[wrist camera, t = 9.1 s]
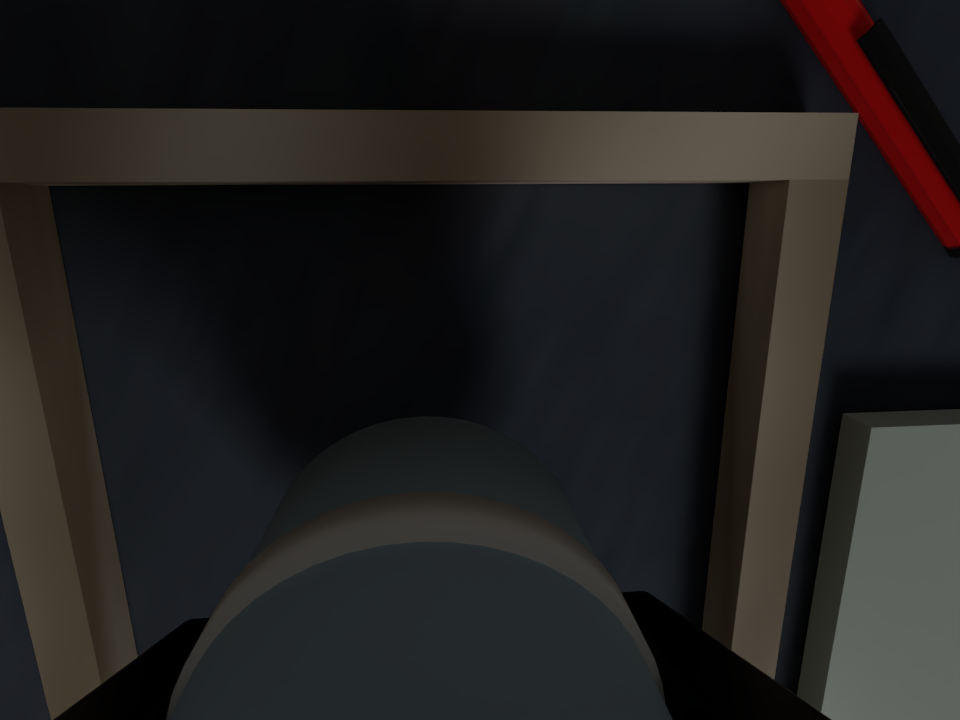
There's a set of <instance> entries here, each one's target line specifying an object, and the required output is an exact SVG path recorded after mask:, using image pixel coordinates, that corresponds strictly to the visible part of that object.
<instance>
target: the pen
mask: <svg viewBox="0 0 960 720" xmlns="http://www.w3.org/2000/svg"><path fill="white" fill-rule="evenodd" d="M780 1H781V3H782V4H783V6H784V7H785V9H786V10H787V12H788V13H789V15H790V16H791V18H792V19H793V21H794V22H795V24H796V25H797V27H798V28H799V30H800V31H801V33H802V34H803V36H804V37H805V39H806V40H807V42H808V44H809V45H810V47H811V48H812V50H813V51H814V53H815V54H816V56H817V57H818V59H819V60H820V62H821V63H822V65H823V66H824V68H825V69H826V71H827V72H828V74H829V75H830V77H831V78H832V80H833V81H834V83H835V84H836V86H837V87H838V89H839V90H840V92H841V93H842V95H843V96H844V98H845V99H846V101H847V102H848V104H849V105H850V107H851V108H852V110H853V111H854V113H859V114H858V119H859V120H860V122H861V123H862V125H863V126H864V128H865V129H866V131H867V132H868V134H869V135H870V137H871V138H872V140H873V141H874V143H875V144H876V146H877V147H878V149H879V150H880V152H881V153H882V155H883V156H884V158H885V159H886V161H887V162H888V164H889V165H890V167H891V168H892V170H893V171H894V173H895V175H896V176H897V178H898V179H899V181H900V182H901V184H902V185H903V187H904V188H905V190H906V191H907V193H908V194H909V196H910V197H911V199H912V200H913V202H914V203H915V205H916V206H917V208H918V209H919V211H920V212H921V214H922V215H923V217H924V218H925V220H926V221H927V223H928V224H929V226H930V227H931V229H932V230H933V232H934V233H935V235H936V236H937V238H938V239H939V241H940V242H941V244H942V245H943V247H944V248H945V250H946V251H947V253H948V254H949V256H951V257H954V258H959V257H960V144H959V142H958V141H957V139H956V138H955V136H954V134H953V133H952V131H951V129H950V128H949V126H948V124H947V123H946V121H945V120H944V118H943V116H942V115H941V113H940V111H939V110H938V108H937V107H936V105H935V103H934V102H933V100H932V98H931V97H930V95H929V93H928V92H927V90H926V89H925V87H924V85H923V84H922V82H921V80H920V79H919V77H918V76H917V74H916V72H915V71H914V69H913V67H912V66H911V64H910V63H909V61H908V59H907V58H906V56H905V54H904V53H903V51H902V49H901V48H900V46H899V45H898V43H897V41H896V40H895V38H894V36H893V35H892V33H891V32H890V30H889V28H888V27H887V25H886V23H885V22H884V20H883V18H882V19H879V20H878V21H877V22H876V23H874V22H873V20H872V19H871V17H870V15H869V14H868V12H867V11H866V9H865V7H864V6H863V4H862V3H861V1H860V0H780Z"/></svg>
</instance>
